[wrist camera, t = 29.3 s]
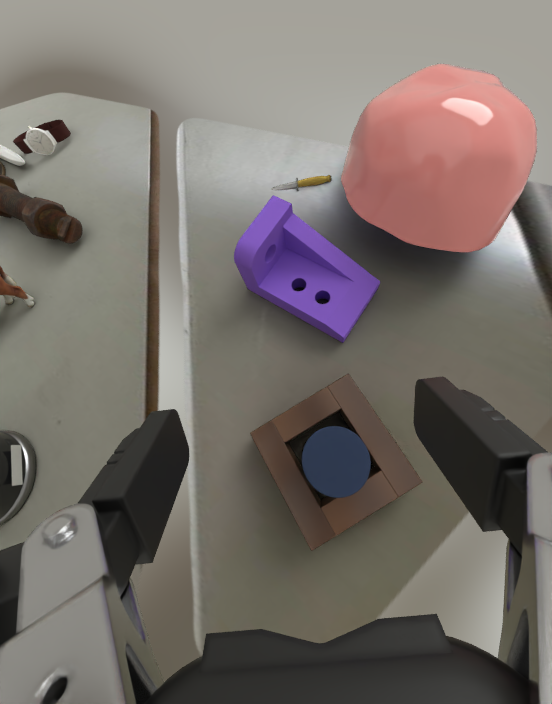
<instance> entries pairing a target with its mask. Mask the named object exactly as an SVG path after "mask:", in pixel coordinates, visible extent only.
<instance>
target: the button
mask: <svg viewBox="0 0 552 704" xmlns="http://www.w3.org/2000/svg"><path fill="white" fill-rule="evenodd" d="M0 175H4V176H5V167H4V165H3V164H2V163H1V162H0Z"/></svg>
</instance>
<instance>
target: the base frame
mask: <svg viewBox="0 0 552 704" xmlns="http://www.w3.org/2000/svg"><path fill="white" fill-rule="evenodd" d="M337 412H340V414H341V415H342V417H343V418H344V420H345V421H346V423H347V424H348V426H349V428H350V429H351V431H352V432H354V433H355V434H357V435H358V436H359V437H360V438H361V440H362V441H363V442H364V444H365V445H366V447H367V449H368V452H369V456H370V460H371V462H372V463H373V465H374V468H372V469H371V470H370V473H369V476H368V479H367V481H366V483H365V484H364V486H363V487H362V488H361V489H360V490H359V491H358V492H356V493H354V494H353V495H350V496H347V497H343V498H334V497H329V496H327V497H325V498H323V499H322V500H320V499H319V497H318V495H317V493H316V491H315V490H314V488H313V486H312V485H311V484H310V483H309V481H308V480H307V478H306V476H305V474H304V471H303V468H302V466H301V465H300V463H299V461H298V459H297V458H296V456H295V454H294V452H293V450H292V449H291V447H290V445H289V443H288V442H290V441H291V440H293V439H294V438H296V437H298V436H299V435H301V434H303V433H304V432H306V431H308V430H309V429H311V428H313V427H314V426H316V425H317V424H319V423H321V422H322V421H324V420H326V419H327V418H329V417H331V416H332V415H334V414H336V413H337ZM250 434H251V436H252V438H253V440H254V442H255V444H256V446H257V448H258V450H259V452H260V453H261V455H262V457H263V459H264V461H265V463H266V465H267V467H268V469H269V471H270V473H271V475H272V476H273V478H274V480H275V482H276V484H277V486H278V488H279V490H280V492H281V494H282V496H283V498H284V499H285V501H286V503H287V505H288V507H289V509H290V511H291V513H292V515H293V517H294V519H295V521H296V522H297V524H298V526H299V528H300V530H301V532H302V534H303V536H304V538H305V540H306V542H307V544H308V545H309V547H310V549H311V551H313V550H314V549H316V548H317V547H319V546H321V545H322V544H324V543H326V542H327V541H329V540H330V539H332V538H334V537H335V536H337V535H339V534H340V533H342V532H343V531H345V530H347V529H348V528H350V527H351V526H353V525H355V524H356V523H358V522H360V521H361V520H363V519H364V518H366V517H368V516H369V515H371V514H372V513H374V512H376V511H377V510H379V509H381V508H382V507H384V506H385V505H387V504H389V503H390V502H392V501H393V500H395V499H397V498H398V497H400V496H401V495H403V494H405V493H406V492H408V491H410V490H411V489H413V488H414V487H416V486H418V485H419V484H421V483H422V480H421V479H420V477H419V476H418V474H417V473H416V471H415V470H414V468H413V467H412V465H411V464H410V463H409V461H408V460H407V458H406V457H405V455H404V454H403V452H402V451H401V449H400V448H399V446H398V445H397V444H396V442H395V441H394V439H393V438H392V436H391V435H390V433H389V432H388V430H387V429H386V427H385V426H384V425H383V423H382V422H381V420H380V419H379V417H378V416H377V414H376V413H375V411H374V410H373V408H372V407H371V406H370V404H369V403H368V401H367V400H366V398H365V397H364V395H363V394H362V392H361V391H360V389H359V388H358V387H357V385H356V384H355V382H354V381H353V379H352V378H351V376H350V375H349V374H347V375H345V376H343V377H342V378H340V379H338V380H337V381H335V382H333V383H332V384H330V385H329V386H327V387H325V388H324V389H322V390H320V391H319V392H317V393H315V394H314V395H312V396H310V397H309V398H307V399H305V400H304V401H302V402H300V403H299V404H297V405H295V406H294V407H292V408H291V409H289V410H287V411H286V412H284V413H282V414H281V415H279V416H277V417H276V418H274V419H272V420H271V421H269V422H267V423H266V424H264V425H262V426H261V427H259V428H258V429H256V430H254V431H253V432H251V433H250Z"/></svg>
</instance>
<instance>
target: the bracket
mask: <svg viewBox="0 0 552 704" xmlns="http://www.w3.org/2000/svg"><path fill="white" fill-rule="evenodd" d="M234 261H235V263H236V265H237V267H238V270H239V272H240V274H241V276H242V278H243V280H244V282H245V284H246V286H247V288H248V289H249V290H251V291H252V292H254V293H256V294H258V295H259V296H261V297H263V298H265V299H267V300H268V301H270V302H272V303H274V304H275V305H277V306H279V307H281V308H282V309H284V310H286V311H288V312H289V313H291V314H293V315H295V316H296V317H298V318H300V319H302V320H303V321H305V322H307V323H309V324H311V325H312V326H314V327H316V328H318V329H319V330H321V331H323V332H325V333H326V334H328V335H330V336H332V337H333V338H335V339H337V340H339V341H340V342H342V343H343V342H344V341H345V339H346V337H347V336H348V334H349V333H350V331H351V330H352V328H353V327H354V325H355V323H356V322H357V320H358V319H359V317H360V316H361V314H362V313H363V311H364V310H365V308H366V306H367V305H368V303H369V302H370V300H371V299H372V297H373V296H374V294H375V292H376V291H377V289H378V287H379V284H380V281H379V280H378V279H376V278H375V277H374V276H372V275H371V274H370V273H369V272H367V271H366V270H365V269H364V268H362V267H361V266H360V265H358V264H357V263H356V262H355V261H353V260H352V259H351V258H349V257H348V256H347V255H346V254H344V253H343V252H342V251H341V250H339V249H338V248H337V247H335V246H334V245H333V244H332V243H330V242H329V241H328V240H327V239H325V238H324V237H323V236H321V235H320V234H319V233H318V232H316V231H315V230H314V229H313V228H311V227H310V226H309V225H307V224H306V223H305V222H304V221H302V220H301V219H300V218H298V217H297V216H296V215H295V214H293V211H292V204H291V203H289V202H287V201H285V200H282V199H280V198H278V197H276V196H272V197H271V199H270V200H269V201H268V203H267V204H266V205H265V207H264V208H263V209H262V211H261V212H260V213H259V215H258V216H257V217H256V219H255V220H254V221H253V222H252V224H251V225H250V226H249V228H248V229H247V230H246V232H245V233H244V234H243V236H242V237H241V238H240V240H239V242H238V243H237V246H236V249H235V253H234ZM298 287H304V288H305V289H304V290H302V291H295V290H294V289H295V288H298ZM319 299H327V300H329V302H328V303H326V304H319V303H317V302H316V301H317V300H319Z"/></svg>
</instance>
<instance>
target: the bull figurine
mask: <svg viewBox="0 0 552 704" xmlns="http://www.w3.org/2000/svg"><path fill="white" fill-rule="evenodd" d="M0 275H1V276H0V295H3V296H4V298H5V302H6V304H7V305H10V304H12V303H13V298H15V296H16V297H19V298H22V299H23V300H24V301H25V303H26V304H27V306H28V307H32V306H33V305H34V302H33V301H32V300H34V298H33V297H32V296H29V295H28V294H26V293H25V292H24V291H23V290H22V288H21V287H19V286H17V285H16V282H15V281H14V280H13V279H12V278H10V277H9V276H8V275H7V274H5V273H4V272H3V270H2V268H1V267H0Z"/></svg>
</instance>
